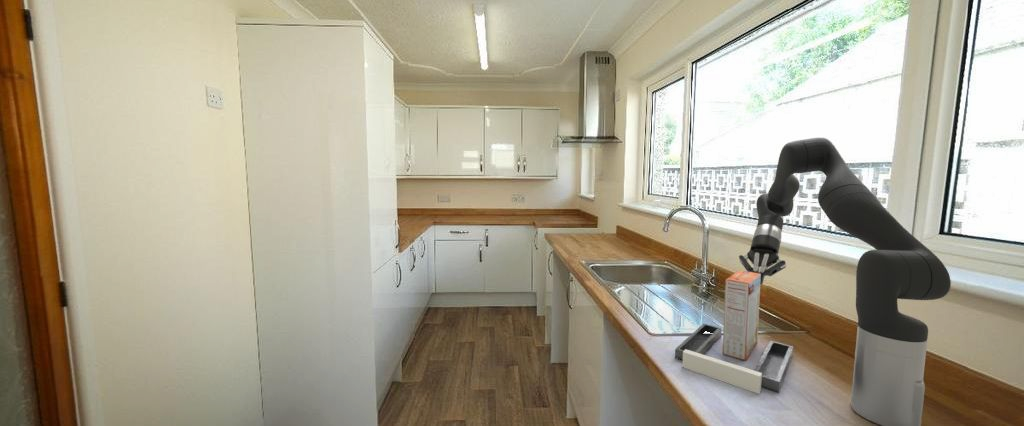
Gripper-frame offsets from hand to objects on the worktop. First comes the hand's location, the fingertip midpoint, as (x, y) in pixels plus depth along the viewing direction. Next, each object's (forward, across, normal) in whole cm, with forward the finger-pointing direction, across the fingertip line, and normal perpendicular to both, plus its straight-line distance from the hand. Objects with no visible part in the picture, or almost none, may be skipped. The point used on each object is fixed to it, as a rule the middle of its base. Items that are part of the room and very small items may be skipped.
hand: (756, 284), depth 109 cm
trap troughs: (+28, 0, -6) cm, 28 cm away
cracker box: (+23, 0, -2) cm, 23 cm away
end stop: (+38, 0, -17) cm, 41 cm away
